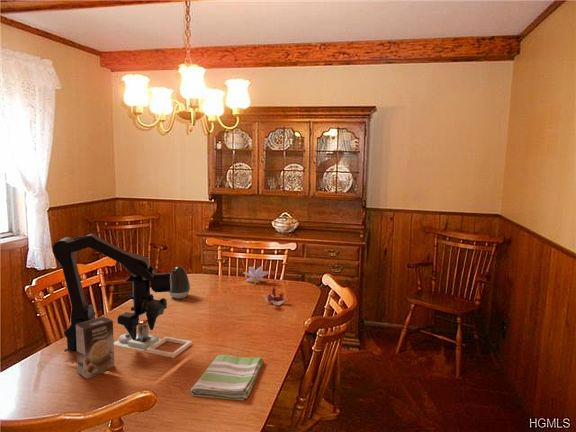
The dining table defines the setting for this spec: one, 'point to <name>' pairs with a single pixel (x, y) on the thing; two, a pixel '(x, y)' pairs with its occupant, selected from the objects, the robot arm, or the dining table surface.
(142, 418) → the dining table surface
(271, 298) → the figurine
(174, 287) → the dark grey egg shape
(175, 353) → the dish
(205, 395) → the dish towel
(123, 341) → the block
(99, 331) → the coffee box
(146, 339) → the pin
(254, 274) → the water lily
